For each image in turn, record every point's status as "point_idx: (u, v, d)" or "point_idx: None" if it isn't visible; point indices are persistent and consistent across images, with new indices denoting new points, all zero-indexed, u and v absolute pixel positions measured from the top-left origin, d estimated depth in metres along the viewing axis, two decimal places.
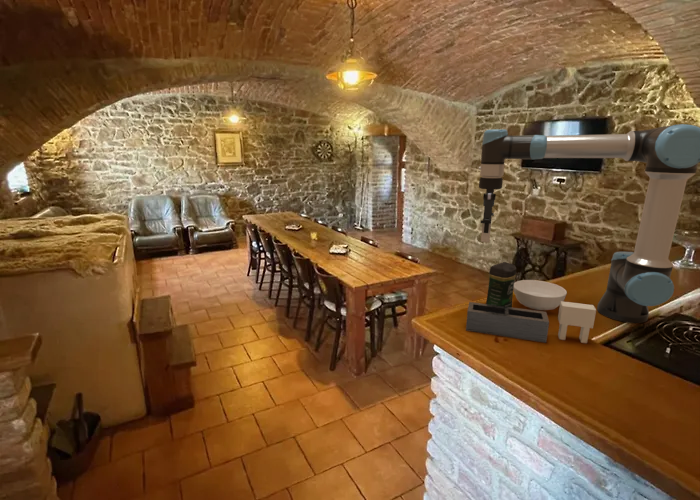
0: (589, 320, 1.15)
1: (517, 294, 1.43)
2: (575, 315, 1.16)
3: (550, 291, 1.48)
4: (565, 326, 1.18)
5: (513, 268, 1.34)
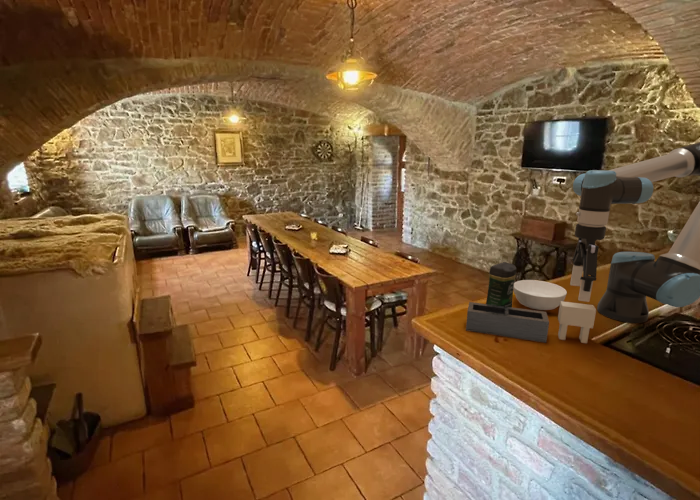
0: (589, 320, 1.15)
1: (517, 294, 1.43)
2: (575, 315, 1.16)
3: (550, 291, 1.48)
4: (565, 326, 1.18)
5: (513, 268, 1.34)
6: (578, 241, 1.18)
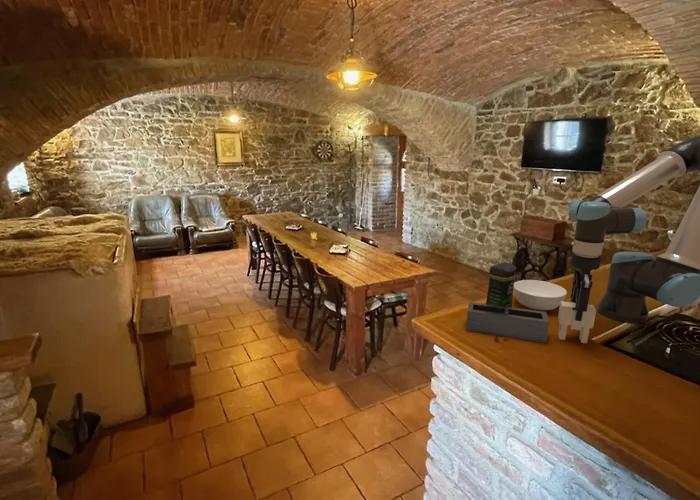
0: (589, 320, 1.15)
1: (517, 294, 1.43)
2: None
3: (550, 291, 1.48)
4: (565, 326, 1.18)
5: (513, 268, 1.34)
6: None
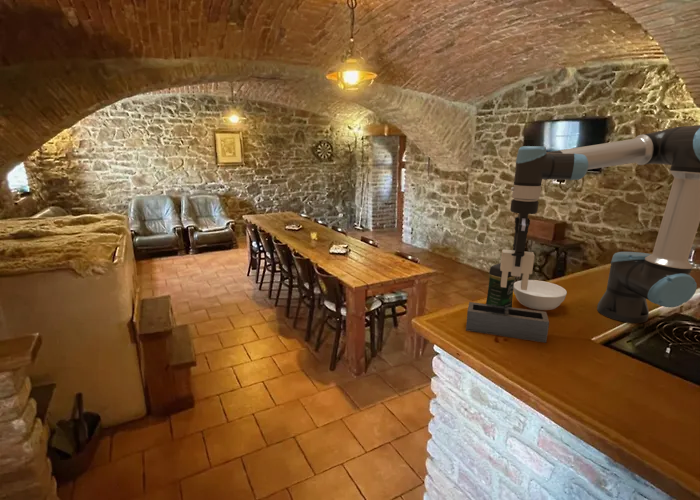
0: (528, 266, 1.16)
1: (517, 294, 1.43)
2: None
3: (550, 291, 1.48)
4: (506, 273, 1.19)
5: None
6: None
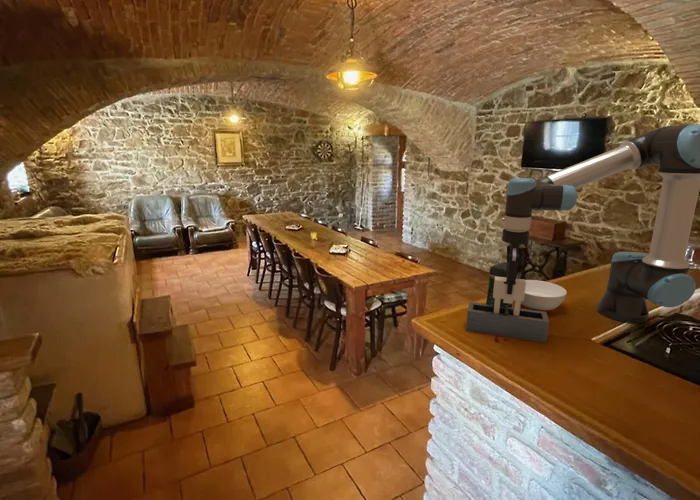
0: (519, 294, 1.19)
1: None
2: None
3: (550, 291, 1.48)
4: (498, 300, 1.22)
5: None
6: None
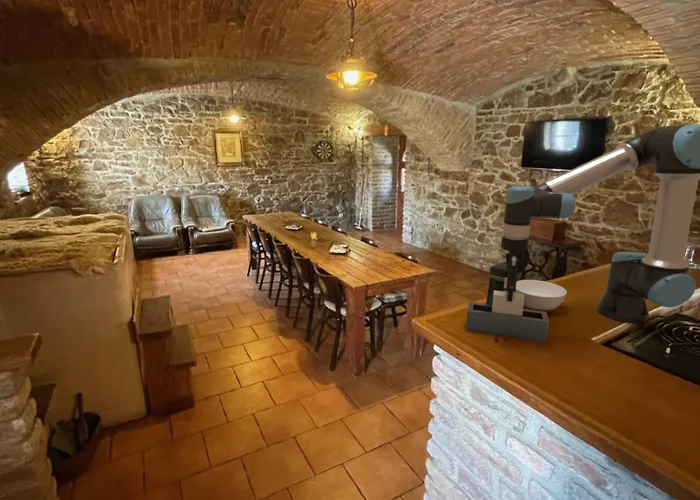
0: (518, 308, 1.20)
1: None
2: None
3: (550, 291, 1.48)
4: None
5: None
6: (508, 253, 1.25)
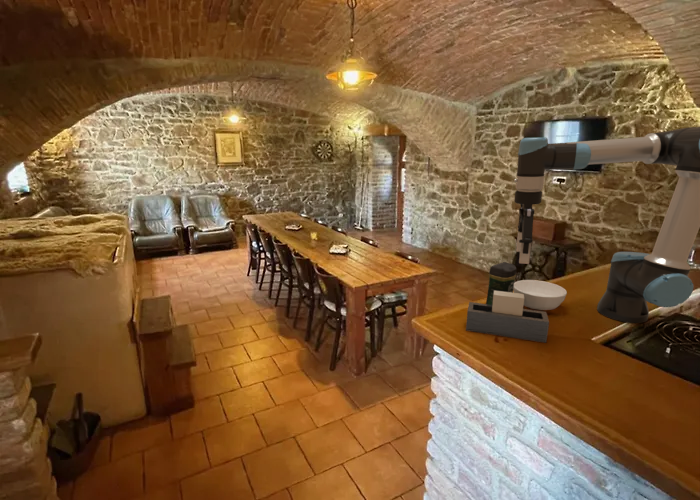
0: (518, 308, 1.20)
1: None
2: (505, 303, 1.21)
3: (550, 291, 1.48)
4: None
5: (513, 268, 1.34)
6: None
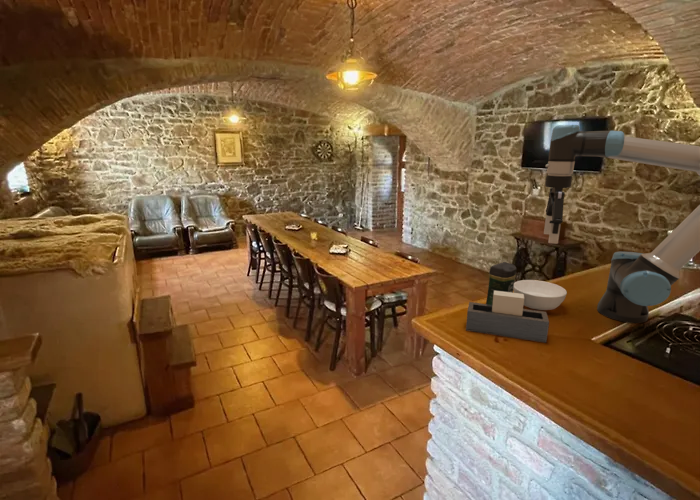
0: (518, 308, 1.20)
1: None
2: (505, 303, 1.21)
3: (550, 291, 1.48)
4: None
5: (513, 268, 1.34)
6: None
